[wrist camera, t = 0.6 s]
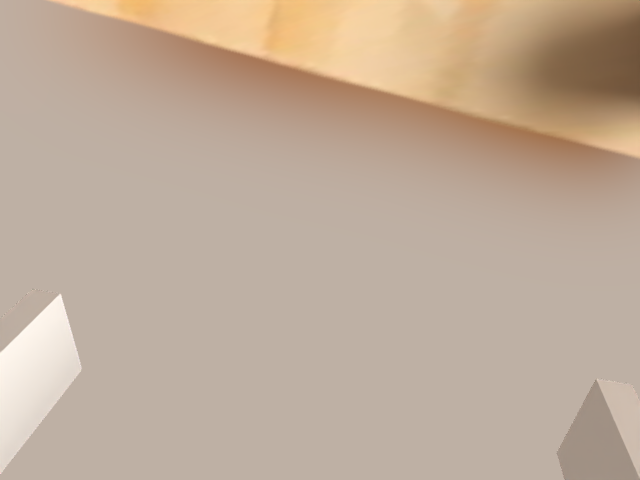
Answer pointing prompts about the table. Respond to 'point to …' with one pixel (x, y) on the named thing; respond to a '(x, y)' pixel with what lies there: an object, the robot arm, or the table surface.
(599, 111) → the table surface
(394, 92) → the table surface
